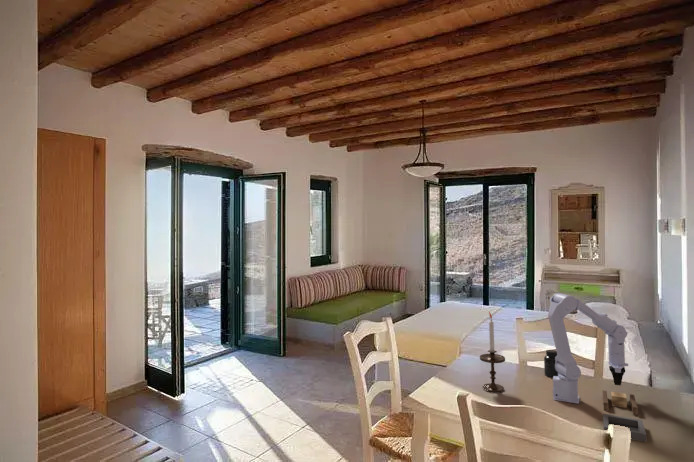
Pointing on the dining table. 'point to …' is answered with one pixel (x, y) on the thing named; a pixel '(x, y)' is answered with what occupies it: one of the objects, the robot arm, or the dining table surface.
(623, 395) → the oak block
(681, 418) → the dining table surface
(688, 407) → the dining table surface
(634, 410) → the walnut channel
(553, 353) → the supplement bottle
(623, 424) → the trap pit
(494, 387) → the candlestick
